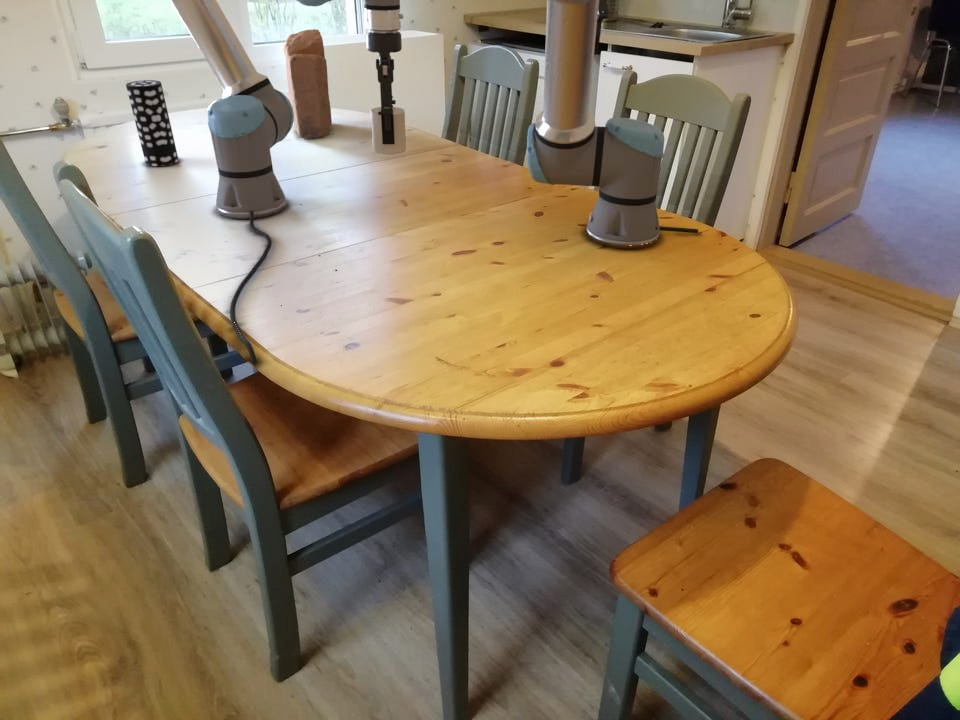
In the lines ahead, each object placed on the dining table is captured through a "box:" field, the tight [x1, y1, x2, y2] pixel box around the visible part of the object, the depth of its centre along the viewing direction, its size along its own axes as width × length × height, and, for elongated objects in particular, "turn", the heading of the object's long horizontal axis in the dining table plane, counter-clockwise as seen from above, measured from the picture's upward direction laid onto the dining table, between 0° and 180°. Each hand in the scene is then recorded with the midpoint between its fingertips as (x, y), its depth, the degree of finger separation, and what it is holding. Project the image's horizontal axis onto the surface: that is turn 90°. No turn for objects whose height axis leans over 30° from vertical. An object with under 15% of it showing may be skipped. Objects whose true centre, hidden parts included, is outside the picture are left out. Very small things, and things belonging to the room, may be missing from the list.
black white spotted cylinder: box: [125, 79, 179, 167], centre depth 181 cm, size 8×8×20 cm
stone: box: [282, 28, 333, 139], centre depth 208 cm, size 22×11×28 cm, turn 18°
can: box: [370, 106, 407, 156], centre depth 159 cm, size 8×8×9 cm
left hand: (388, 138), depth 160 cm, fingers closed on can, 8 cm apart
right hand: (576, 49), depth 158 cm, fingers open, 13 cm apart
